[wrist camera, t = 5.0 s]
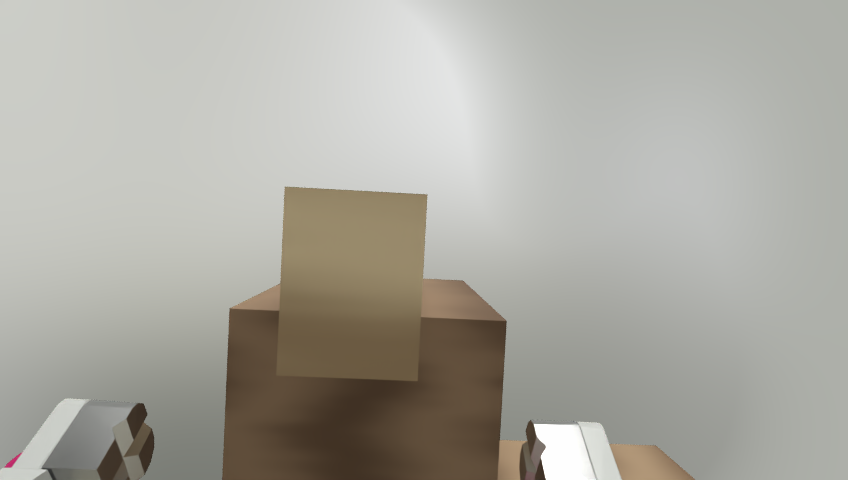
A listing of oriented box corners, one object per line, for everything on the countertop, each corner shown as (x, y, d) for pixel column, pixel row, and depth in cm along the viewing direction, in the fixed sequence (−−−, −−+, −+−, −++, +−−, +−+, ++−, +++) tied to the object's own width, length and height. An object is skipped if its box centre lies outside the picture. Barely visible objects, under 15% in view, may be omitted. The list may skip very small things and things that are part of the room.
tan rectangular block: (417, 381, 12) (427, 194, 11) (275, 375, 11) (285, 186, 11) (407, 285, 30) (411, 212, 29) (352, 282, 29) (356, 209, 29)
